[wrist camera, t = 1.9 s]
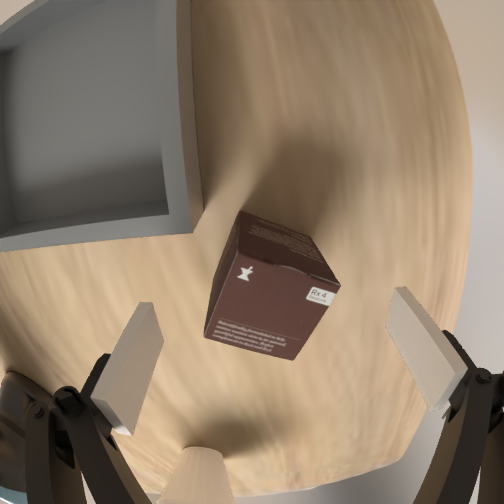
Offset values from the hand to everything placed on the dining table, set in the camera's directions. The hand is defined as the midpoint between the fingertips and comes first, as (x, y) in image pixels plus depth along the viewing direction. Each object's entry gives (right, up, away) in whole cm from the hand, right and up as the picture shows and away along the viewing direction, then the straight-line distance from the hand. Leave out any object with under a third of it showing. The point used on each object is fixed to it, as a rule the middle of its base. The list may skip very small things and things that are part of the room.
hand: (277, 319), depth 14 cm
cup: (-9, -30, +21) cm, 38 cm away
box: (0, +3, +7) cm, 8 cm away
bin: (-15, +15, +2) cm, 21 cm away
